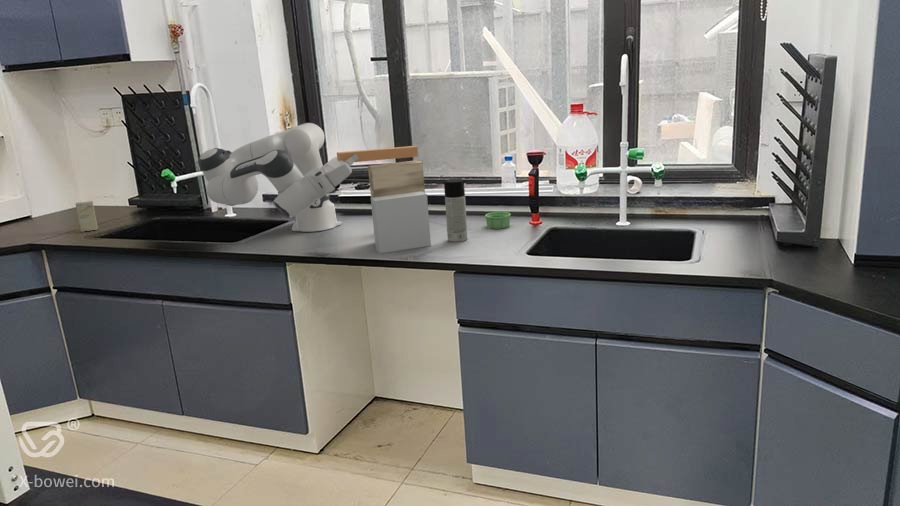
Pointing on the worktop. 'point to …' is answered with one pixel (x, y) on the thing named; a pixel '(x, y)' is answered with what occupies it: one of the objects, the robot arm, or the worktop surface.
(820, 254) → the worktop surface
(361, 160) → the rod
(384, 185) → the beige rectangular block
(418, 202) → the base
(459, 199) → the spray can
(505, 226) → the ramekin
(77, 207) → the skincare box
